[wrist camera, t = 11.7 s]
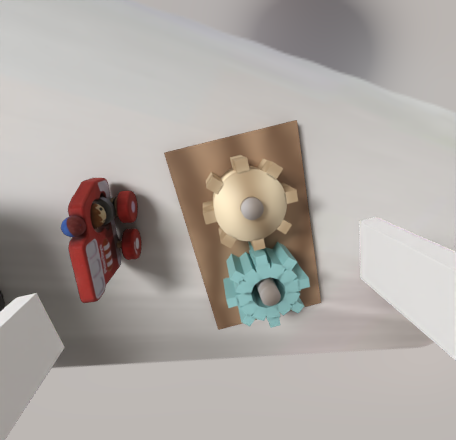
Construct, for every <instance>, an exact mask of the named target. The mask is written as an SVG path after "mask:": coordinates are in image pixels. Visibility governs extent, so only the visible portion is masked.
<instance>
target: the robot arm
mask: <svg viewBox="0 0 456 440" xmlns="http://www.w3.org/2000/svg"><path fill="white" fill-rule="evenodd" d="M359 243H360V278H361V279H362V280H363V281H364V282H365V283H366V284H368V285H369V286H370V287H371V288H372V289H373V290H374V291H376V292H377V293H378V294H379V295H380V296H381V297H383V298H384V299H385V300H386V301H387V302H388V303H390V304H391V305H392V306H393V307H394V308H395V309H396V310H398V311H399V312H400V313H401V314H402V315H403V316H405V317H406V318H407V319H408V320H409V321H410V322H411V323H413V324H414V325H415V326H416V327H417V328H418V329H420V330H421V331H422V332H423V333H424V334H425V335H427V336H428V337H429V338H430V339H431V340H432V341H433V342H435V343H436V344H437V345H438V346H439V347H440V348H442V349H443V350H444V351H445V352H446V353H447V354H448V355H450V356H451V357H452V358H453V359H454V360H456V252H455V251H453V250H451V249H449V248H446V247H444V246H442V245H439V244H437V243H435V242H433V241H430V240H428V239H426V238H424V237H421V236H419V235H417V234H414V233H412V232H410V231H408V230H405V229H403V228H401V227H399V226H396V225H394V224H392V223H389V222H387V221H385V220H383V219H380V218H378V217H374V218H370V219H365V220H361V221H359ZM64 348H65V347H64V345H63V343H62V341H61V339H60V337H59V335H58V333H57V331H56V330H55V328H54V326H53V324H52V322H51V320H50V318H49V316H48V314H47V312H46V310H45V308H44V306H43V305H42V303H41V301H40V299H39V297H38V295H37V293H34V294H30V295H25V296H21V297H17V298H15V299H14V300H13V301H12V302H11V303H10V304H8V305H7V306H6V307H5V308H4V301H3V297H2V295H1V292H0V440H5V439H6V438H7V436H8V434H9V433H10V431H11V430H12V428H13V427H14V425H15V424H16V422H17V421H18V419H19V417H20V416H21V414H22V413H23V411H24V410H25V408H26V407H27V405H28V403H29V402H30V400H31V399H32V397H33V396H34V394H35V393H36V391H37V390H38V388H39V386H40V385H41V383H42V382H43V380H44V379H45V377H46V375H47V374H48V373H49V371H50V369H51V368H52V366H53V365H54V363H55V362H56V360H57V359H58V357H59V355H60V354H61V352H62V351H63V349H64Z"/></svg>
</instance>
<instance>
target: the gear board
mask: <svg viewBox="0 0 456 440" xmlns="http://www.w3.org/2000/svg"><path fill="white" fill-rule="evenodd" d="M164 154H165V157H166V161H167V164H168V167H169V170H170V174H171V177H172V180H173V183H174V187H175V190H176V193H177V196H178V200H179V203H180V206H181V210H182V213H183V216H184V219H185V223H186V226H187V229H188V232H189V236H190V239H191V242H192V245H193V249H194V252H195V255H196V258H197V262H198V265H199V268H200V271H201V275H202V278H203V281H204V284H205V288H206V291H207V294H208V297H209V301H210V304H211V307H212V311H213V314H214V317H215V320H216V324H217V327H218V330H219V329H223V328H227V327H231V326H234V325H238V324H242V322H241V319H240V314H239V309H238V306H235V307H231V308H228V304H227V301H226V295H225V288H224V282H223V279H225V278H229V272H228V267H227V262H226V261H227V259H228V258H229V256H230V255H231V253H232V254H233V255H235V256H237V257H240V256H241V255H243V254H244V253H245V252H247V253H248V254H249V250H250V248H249V243H248V242H249V241H250V243H251V245H252V247H253V249H254V251H256V250H260V249H264V248H265V247H266V248H270V249H273V247H274V246H275V244H276V243H277V242H279V243H281V244H283V245H284V246H286V248H287V249H288V250H289V252H290V253H291V254H292V256H293V257H294V258H295V259H296V261H297V263H298V265H299V266H300V267H301V268H302V270H303V271H304V272H305V274H306V275H307V276H308V278H309V283H310V287H308V288H304V289H301V291H299V292H300V295H299V298H300V299H301V301H302V303H303V304H304V307H307V306H311V305H314V304H318V303H321V299H320V291H319V283H318V276H317V268H316V261H315V253H314V246H313V238H312V231H311V223H310V216H309V208H308V200H307V193H306V185H305V178H304V170H303V163H302V155H301V148H300V140H299V132H298V125H297V120H295V121H291V122H287V123H283V124H279V125H275V126H271V127H266V128H262V129H258V130H254V131H250V132H246V133H242V134H238V135H234V136H230V137H226V138H222V139H218V140H214V141H210V142H206V143H202V144H198V145H194V146H190V147H186V148H181V149H177V150H173V151H169V152H165V153H164ZM249 255H250V254H249ZM254 286H256V287H257V289H258V292H259V295H260V297H261V300H262V302H263V303H264V304H265V305H267V306H273V305H276V304H277V303H278V302H279V301H280V298H281V295H280V292H279V290H278V288H277V286H276V284H275V282H274V280H273V278H271V277H269V278H266V279H262V280H260V281H259V282H258V283H256V284H255V285H254ZM290 311H292V310H290ZM279 313H280V312H279ZM255 320H257V319H255Z"/></svg>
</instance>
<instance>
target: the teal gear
mask: <svg viewBox="0 0 456 440" xmlns="http://www.w3.org/2000/svg"><path fill="white" fill-rule="evenodd" d="M248 243H249V248H250V250H249V254H250V255H249V254H248V253H247V252H245V253H244V254H243V255H241V256H240V257H237V256H235V255H233V254H232V253H231V255H230V256H229V258H228V259H227V261H226V262H227V267H228V272H229V278H225V279H223V282H224V288H225V295H226V301H227V304H228V308H231V307H235V306H238V309H239V314H240V319H241V322H242V323H244V324H246V325H248V326H250V325H251V324H252V323H253V321H254V320H255V319H258V320H263V321H264V320H265V318H266V317H267V320H268V322H269V324H270V327H275V326H279V325H280V320H279V317H280V313H281V314H282V315H283V316H284V315H285V314H286V313H287V312H288V311H290V310H292V311H294V312H297V313H299V312H300V311H301V309H302V308H303V307H304V304H303V303H302V301H301V299H300V298H299V295H300V292H299V291H301V289H304V288H308V287H310V283H309V278H308V276H307V275H306V274H305V272H304V271H303V270H302V268H301V267H300V266H299V265H298V263H297V261H296V259H295V258H294V257H293V256H292V254H291V253H290V252H289V250H288V249H287V248H286V246H284V245H283V244H281V243H279V242H277V243H276V244H275V246H274V247H273V249H270V248H266V247H265V248H264V249H260V250H256V251H254V249H253V247H252V245H251V243H250V241H249V242H248ZM269 277H271V278H273V280H274V282H275V284H276V286H277V288H278V290H279V292H280V295H281V298H280V301H279V302H278V303H277V304H276V305H273V306H267V305H265V304H264V303H263V302H262V300H261V297H260V295H259V292H258V289H257V287H256V286H254V285H255V284H256V283H258V282H259V281H260V280H262V279H266V278H269ZM279 312H280V313H279Z"/></svg>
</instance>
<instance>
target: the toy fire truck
mask: <svg viewBox="0 0 456 440" xmlns="http://www.w3.org/2000/svg"><path fill="white" fill-rule="evenodd" d="M137 208H138V207H137V200H136V196H135V194H134V193H133V192H132V191H121V192H119V194H118V196H117V197H115V198H112V199H111V197H110V191H109V185H108V182H107V180H106V179H105V178H92V179H89V180H85V181H83V182H81V184H80V186H79V188H78V189H77V191H76V193H75V195H74V196H73V197H72V199H71V201H70V203H69V206H68V213H69V217H68V218H66V219H65V220H64V221H63V222H62V224H61V230H62V232H63V233H64V234H65V235H66V236H69V237H73V238H72V239H71V241H70V243H69V254H70V258H71V262H72V266H73V270H74V274H75V279H76V282H77V287H78V291H79V295H80V299H81V301H82V302H83V303H88V302H96V301H98V300H99V299H100V297H101V296H102V295H103V293H104V291H105V287H106V284H107V283H108V282H109V280H110V279H111V277H112V276H113V275H114V273H115V272H116V271H117V269H118V268H119V267H120V265H121V254H120V248H122V253H123V256H124V257H125V258H126V259H127V260H131V259H137V258H139V256H140V253H141V237H140V233H139V231H138V230H137V229H126V230H125V231H124V232H123V235H122V240H121V241H120V240H119V238H118V236H117V231H116V225H115V220H114V217H118V218H119V220H120V221H121V222H122V223H133V222H134V221H135V220H136V218H137Z"/></svg>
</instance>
